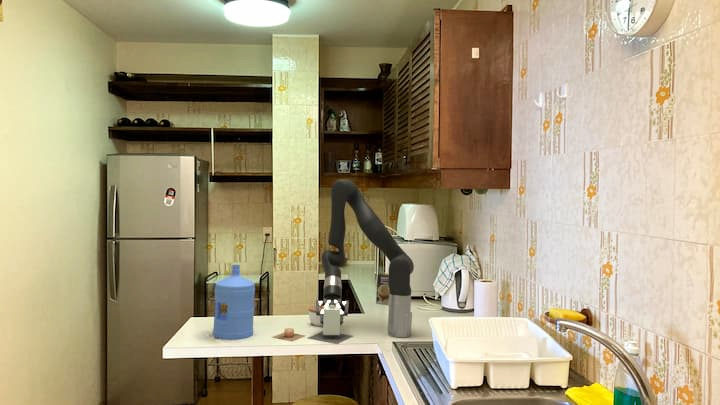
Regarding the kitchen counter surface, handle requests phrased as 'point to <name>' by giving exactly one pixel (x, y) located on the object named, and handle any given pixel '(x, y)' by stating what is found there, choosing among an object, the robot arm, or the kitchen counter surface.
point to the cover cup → (331, 320)
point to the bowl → (288, 332)
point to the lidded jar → (313, 317)
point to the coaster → (283, 337)
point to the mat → (330, 338)
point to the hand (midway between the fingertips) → (331, 323)
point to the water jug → (234, 306)
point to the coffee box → (382, 289)
